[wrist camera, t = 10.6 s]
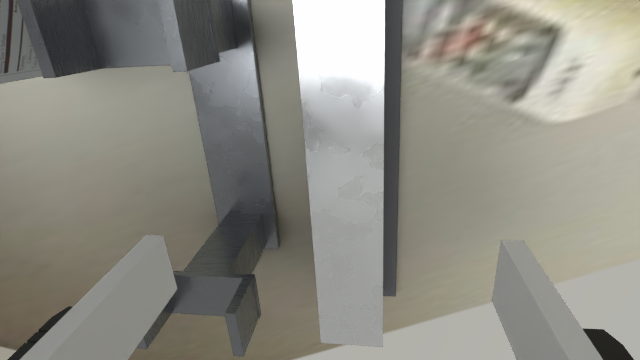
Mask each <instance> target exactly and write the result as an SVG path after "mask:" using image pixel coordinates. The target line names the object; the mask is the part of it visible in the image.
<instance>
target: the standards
mask: <svg viewBox="0 0 640 360" xmlns="http://www.w3.org/2000/svg"><path fill="white" fill-rule="evenodd" d="M17 3H18V6H19V9H20V11H21V14H22V17H23V20H24V23H25V26H26V29H27V31H28V34H29V37H30V40H31V43H32V46H33V49H34V52H35V54H36V57H37V60H38V63H39V66H40V69H41V72H42V74H43V77H44V78H56V77H61V76H66V75H71V74H76V73H82V72H87V71H92V70H97V69H102V68H120V67H139V66H159V65H172V68H173V72H182V71H189V75H190V80H191V85H192V90H193V95H194V100H195V105H196V110H197V115H198V120H199V126H200V131H201V136H202V141H203V146H204V151H205V156H206V161H207V166H208V171H209V177H210V182H211V187H212V192H213V197H214V202H215V207H216V212H217V217H218V222H219V225H218V227H217V228H216V229H215V230H214V232H213V233H212V234H211V236H210V237H209V238H208V240H207V241H206V242H205V244H204V245H203V246H202V248H201V249H200V250H199V251H198V253H197V254H196V255H195V257H194V258H193V259H192V261H191V262H190V263H189V265H188V266H187V267H186V269H185V270H184V271H173V274H174V278H175V282H176V285H177V290H176V292H175V293H174V294H173V296H172V297H171V299H170V300H169V302H168V303H167V304H166V306H165V307H164V309H163V310H162V312H161V313H160V314H159V316H158V317H157V319H156V320H155V322H154V323H153V324H152V326H151V327H150V329H149V330H148V332H147V333H146V334H145V336H144V337H143V339H142V340H141V342H140V343H139V344H138V346H137V347H138V348H141V349H147V348H148V347H149V345H150V344H151V342H152V341H153V340H154V338H155V337H156V335H157V334H158V332H159V331H160V330H161V328H162V327H163V325H164V324H165V322H166V321H167V319H168V318H169V317H170V315H171V314H172V313H181V314H197V315H214V316H225V318H226V322H227V327H228V332H229V336H230V341H231V346H232V350H233V355H234V356H242V357H244V354H245V352H246V349H247V346H248V344H249V341H250V339H251V336H252V334H253V331H254V329H255V326H256V324H257V321H258V319H259V318H260V316H261V310H260V303H259V297H258V291H257V285H256V279H255V274H252V273H253V271H254V268H255V266H256V264H257V262H258V260H259V258H260V256H261V254H262V252H263V250H264V249H279V247H280V241H279V233H278V225H277V217H276V209H275V201H274V193H273V185H272V177H271V169H270V161H269V153H268V145H267V137H266V129H265V121H264V112H263V104H262V96H261V88H260V80H259V72H258V64H257V56H256V48H255V40H254V32H253V24H252V16H251V8H250V0H17Z"/></svg>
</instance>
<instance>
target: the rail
mask: <svg viewBox="0 0 640 360" xmlns="http://www.w3.org/2000/svg"><path fill="white" fill-rule="evenodd" d="M293 8H294V20H295V32H296V45H297V57H298V69H299V81H300V93H301V105H302V117H303V130H304V142H305V154H306V166H307V178H308V190H309V202H310V215H311V227H312V239H313V251H314V263H315V275H316V287H317V300H318V312H319V324H320V336H321V343H331V344H346V345H361V346H374V347H382V346H383V202H384V43H385V0H293Z"/></svg>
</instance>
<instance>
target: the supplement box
mask: <svg viewBox="0 0 640 360" xmlns="http://www.w3.org/2000/svg"><path fill="white" fill-rule="evenodd" d="M41 76H43V74H42V72H41V69H40V66H39V63H38V60H37V57H36V54H35V52H34V49H33V46H32V43H31V40H30V37H29V34H28V31H27V29H26V26H25V23H24V20H23V17H22V14H21V11H20V9H19V6H18V3H17V0H0V84H2V83H7V82H12V81H18V80H24V79H30V78H35V77H41Z"/></svg>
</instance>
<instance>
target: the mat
mask: <svg viewBox="0 0 640 360" xmlns="http://www.w3.org/2000/svg"><path fill="white" fill-rule="evenodd" d="M401 42H402V0H385V43H384V202H383V296H396V255H397V213H398V170H399V127H400V84H401Z"/></svg>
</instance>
